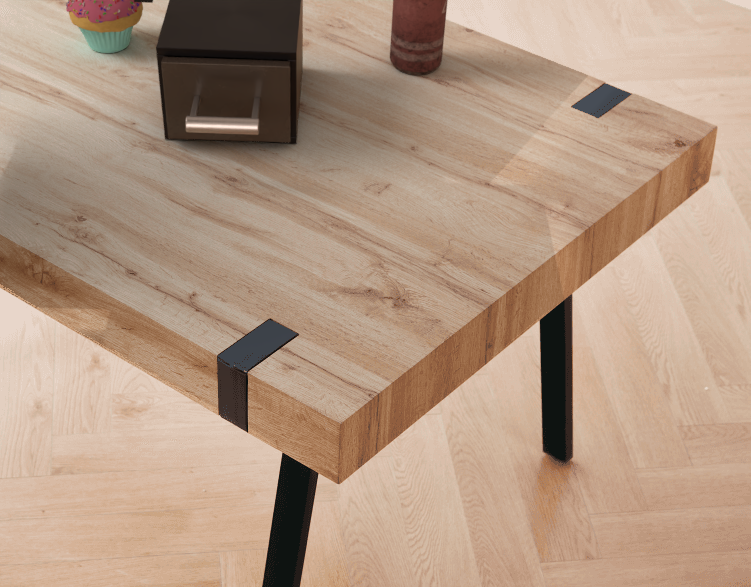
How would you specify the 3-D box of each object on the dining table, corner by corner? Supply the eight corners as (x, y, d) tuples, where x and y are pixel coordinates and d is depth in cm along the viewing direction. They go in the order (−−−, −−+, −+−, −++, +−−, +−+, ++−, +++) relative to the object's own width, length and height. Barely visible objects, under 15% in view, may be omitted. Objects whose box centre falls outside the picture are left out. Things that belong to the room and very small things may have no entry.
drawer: (287, 174, 108) (286, 96, 102) (160, 170, 107) (152, 92, 101) (296, 71, 123) (296, -2, 117) (185, 67, 122) (179, -6, 116)
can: (403, 44, 130) (411, -68, 121) (449, 60, 128) (461, -53, 119) (378, 65, 126) (384, -49, 117) (425, 81, 124) (435, -34, 115)
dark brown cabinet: (296, 144, 113) (296, 52, 106) (164, 139, 113) (155, 47, 106) (302, 67, 125) (302, -20, 118) (183, 63, 125) (176, -25, 117)
